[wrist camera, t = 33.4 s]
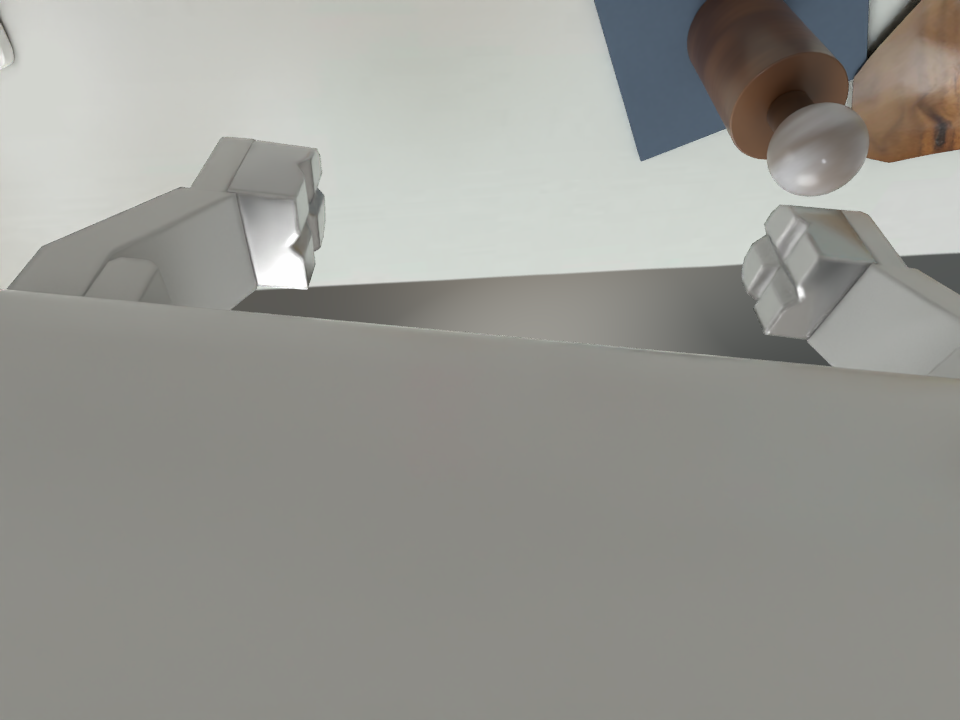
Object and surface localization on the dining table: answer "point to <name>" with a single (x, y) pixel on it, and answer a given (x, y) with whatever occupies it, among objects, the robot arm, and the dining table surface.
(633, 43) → the placemat
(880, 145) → the cutting board
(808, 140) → the salt mill
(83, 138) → the dining table surface
